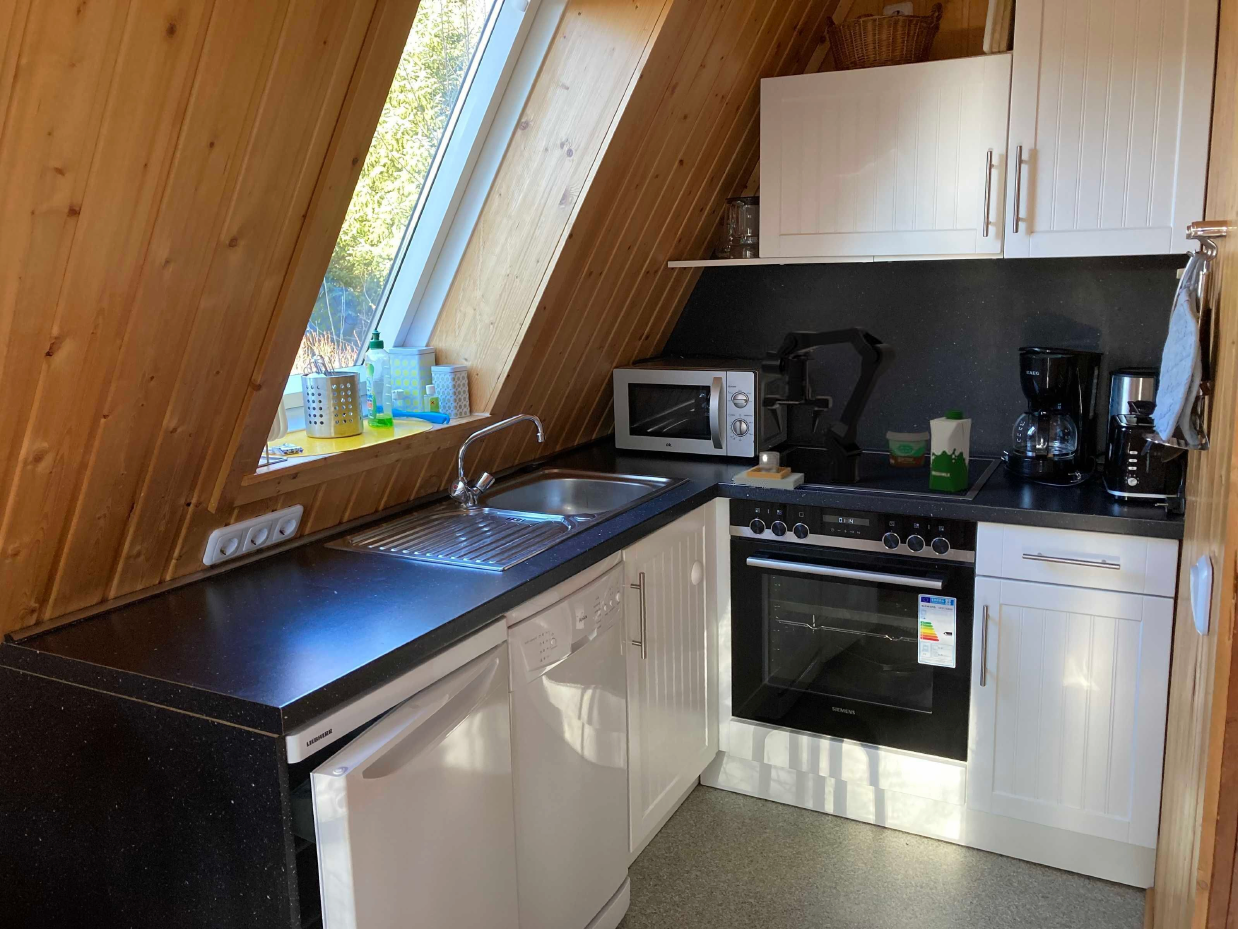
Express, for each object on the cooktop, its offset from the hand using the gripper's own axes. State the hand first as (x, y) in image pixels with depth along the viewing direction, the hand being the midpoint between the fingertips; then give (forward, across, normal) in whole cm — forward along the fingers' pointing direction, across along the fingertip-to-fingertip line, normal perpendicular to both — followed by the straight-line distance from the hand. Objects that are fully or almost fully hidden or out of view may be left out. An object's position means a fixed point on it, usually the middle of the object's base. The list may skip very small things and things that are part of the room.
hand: (796, 432), depth 281 cm
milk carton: (+12, -41, +8) cm, 44 cm away
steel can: (+10, +4, +16) cm, 19 cm away
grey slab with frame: (+12, +4, +16) cm, 20 cm away
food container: (+12, -28, -22) cm, 37 cm away
